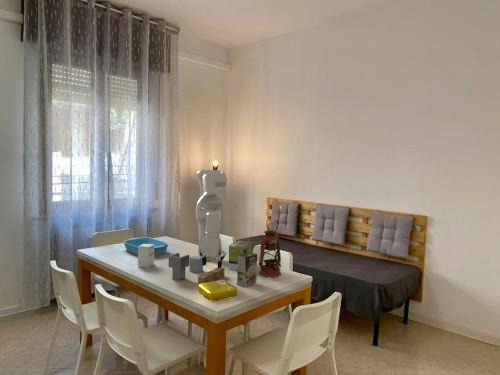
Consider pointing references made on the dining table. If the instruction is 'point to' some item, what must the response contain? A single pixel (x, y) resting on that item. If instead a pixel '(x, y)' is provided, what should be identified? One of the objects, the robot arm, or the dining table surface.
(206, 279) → the rail
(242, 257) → the coffee box
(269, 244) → the lantern
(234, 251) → the tea box
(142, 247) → the supplement box
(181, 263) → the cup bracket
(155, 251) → the casserole dish
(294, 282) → the dining table surface
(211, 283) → the element tile
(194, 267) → the grey blue block
